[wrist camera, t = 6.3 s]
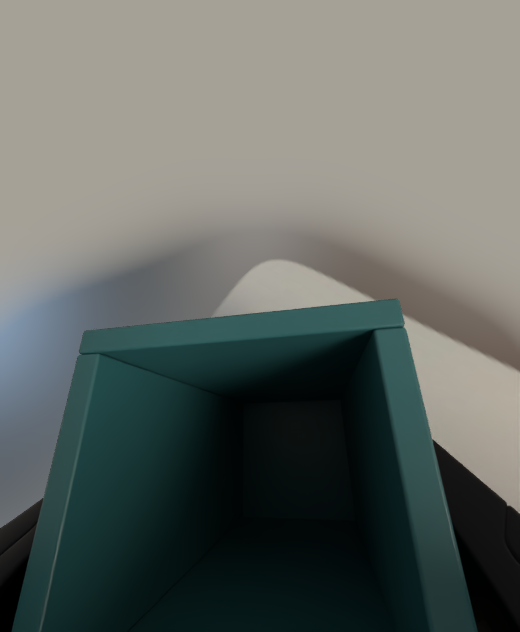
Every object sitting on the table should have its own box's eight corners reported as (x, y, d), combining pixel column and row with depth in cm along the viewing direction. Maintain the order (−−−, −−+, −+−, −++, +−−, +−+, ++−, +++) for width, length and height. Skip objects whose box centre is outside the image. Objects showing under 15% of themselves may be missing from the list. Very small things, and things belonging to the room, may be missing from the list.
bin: (368, 531, 12) (562, 979, 2) (235, 525, 13) (-33, 803, 3) (348, 390, 14) (399, 296, 5) (237, 395, 16) (82, 330, 6)
